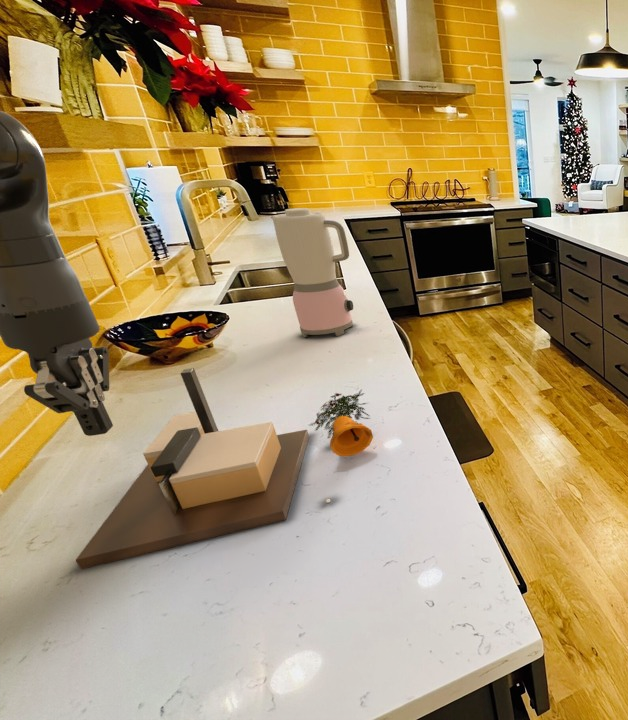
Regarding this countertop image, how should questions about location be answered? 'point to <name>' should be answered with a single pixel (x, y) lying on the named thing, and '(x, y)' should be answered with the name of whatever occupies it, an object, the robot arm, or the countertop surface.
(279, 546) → the countertop surface
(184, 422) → the slice
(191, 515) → the board
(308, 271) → the blender
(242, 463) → the tan rounded box
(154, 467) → the knife
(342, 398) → the christmas decoration
